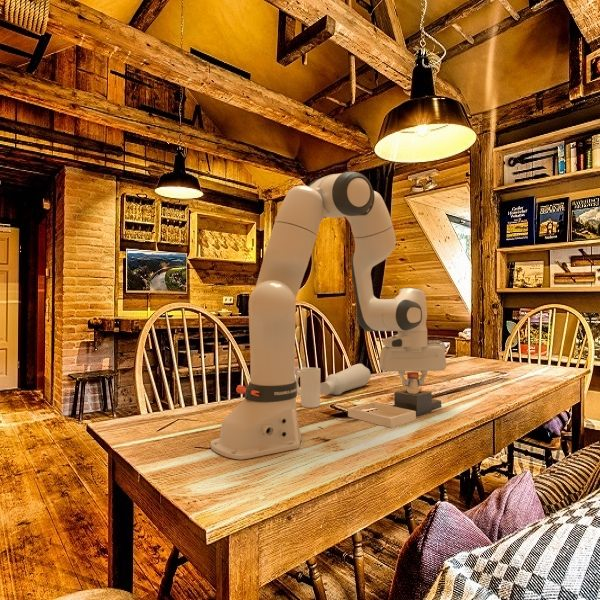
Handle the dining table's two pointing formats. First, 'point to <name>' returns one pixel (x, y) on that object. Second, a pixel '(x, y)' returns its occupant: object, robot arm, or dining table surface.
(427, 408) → the block
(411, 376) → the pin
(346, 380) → the bottle
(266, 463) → the dining table surface
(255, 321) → the robot arm
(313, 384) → the mug
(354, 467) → the dining table surface
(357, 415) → the tray
